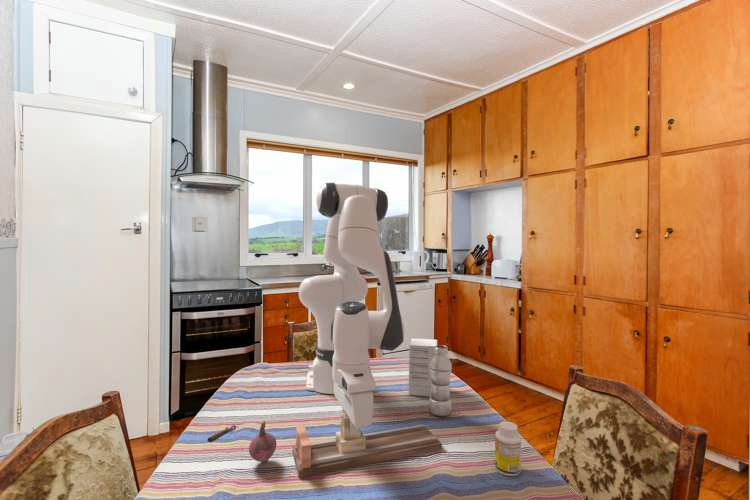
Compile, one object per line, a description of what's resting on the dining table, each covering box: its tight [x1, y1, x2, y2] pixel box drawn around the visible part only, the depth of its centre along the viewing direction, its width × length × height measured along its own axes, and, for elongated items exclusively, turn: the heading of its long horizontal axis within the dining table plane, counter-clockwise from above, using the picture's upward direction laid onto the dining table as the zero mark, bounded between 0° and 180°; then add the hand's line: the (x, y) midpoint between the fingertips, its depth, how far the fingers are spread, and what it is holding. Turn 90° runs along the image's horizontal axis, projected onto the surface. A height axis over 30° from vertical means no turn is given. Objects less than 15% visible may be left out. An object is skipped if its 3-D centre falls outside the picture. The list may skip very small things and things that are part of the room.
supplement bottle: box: [494, 420, 522, 477], centre depth 87 cm, size 6×6×10 cm
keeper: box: [335, 412, 366, 454], centre depth 92 cm, size 5×6×8 cm
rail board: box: [292, 423, 443, 479], centre depth 93 cm, size 10×35×6 cm, turn 110°
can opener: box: [207, 424, 239, 442], centre depth 101 cm, size 9×2×1 cm, turn 146°
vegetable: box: [248, 420, 277, 464], centre depth 88 cm, size 6×6×10 cm
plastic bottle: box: [428, 345, 453, 417], centre depth 113 cm, size 6×7×20 cm
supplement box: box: [408, 337, 438, 398], centre depth 130 cm, size 10×9×17 cm
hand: (350, 428), depth 92 cm, fingers closed on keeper, 3 cm apart
